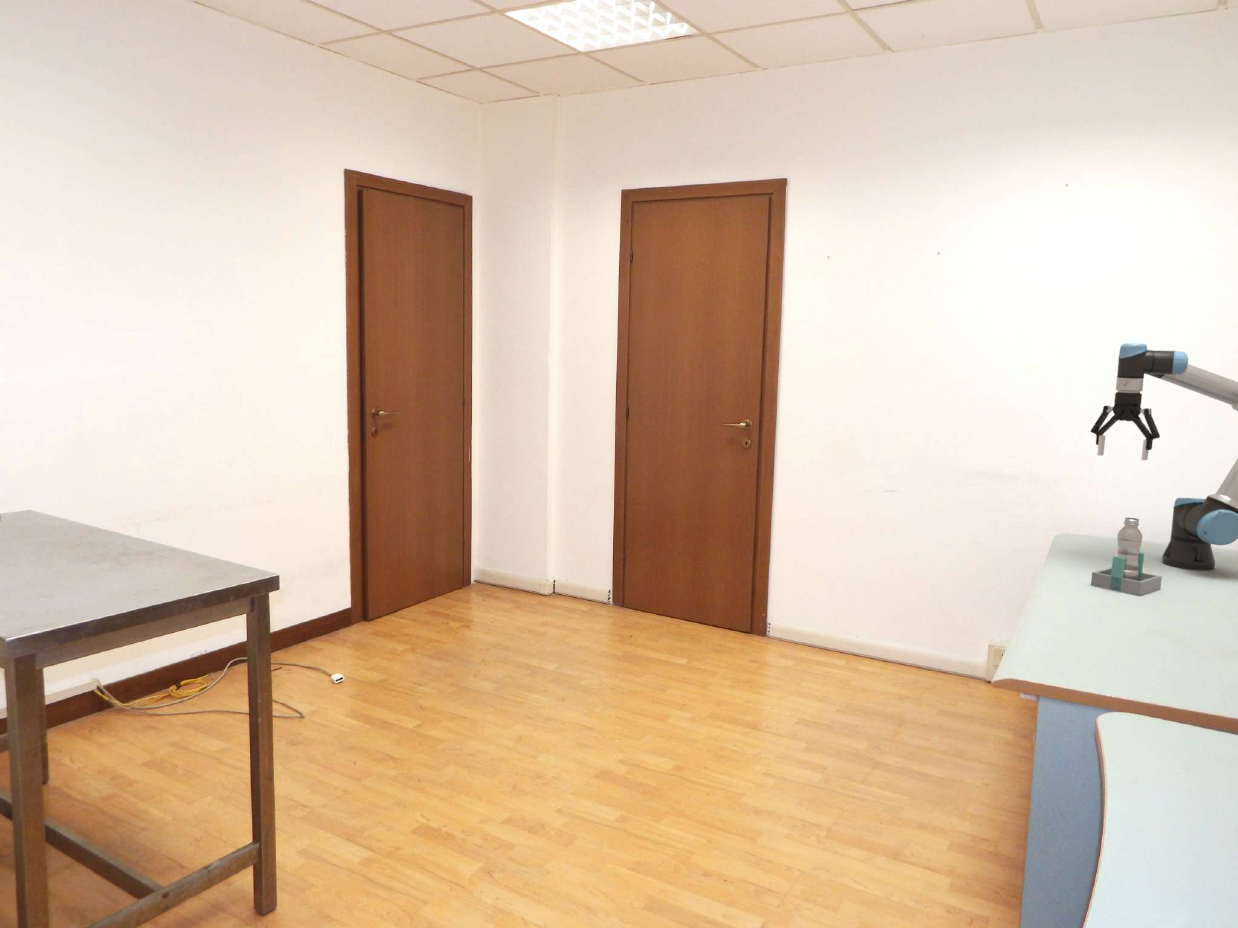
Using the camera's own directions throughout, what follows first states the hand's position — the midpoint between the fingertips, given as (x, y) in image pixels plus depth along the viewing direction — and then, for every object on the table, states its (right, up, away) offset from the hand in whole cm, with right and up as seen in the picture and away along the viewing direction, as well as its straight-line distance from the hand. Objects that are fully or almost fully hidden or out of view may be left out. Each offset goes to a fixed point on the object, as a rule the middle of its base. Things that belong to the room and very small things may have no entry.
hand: (1122, 457), depth 293 cm
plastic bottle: (-10, -38, -20) cm, 44 cm away
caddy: (-10, -39, -20) cm, 45 cm away
